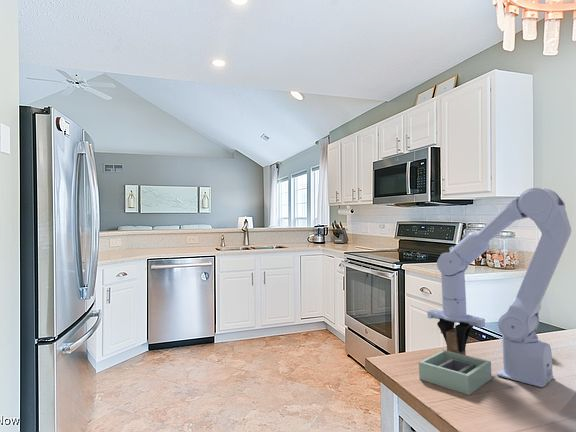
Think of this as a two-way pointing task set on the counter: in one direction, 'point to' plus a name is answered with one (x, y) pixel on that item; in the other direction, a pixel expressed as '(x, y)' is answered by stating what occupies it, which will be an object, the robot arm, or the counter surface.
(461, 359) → the sage green storage tray
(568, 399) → the counter surface
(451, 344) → the wood grain brick
